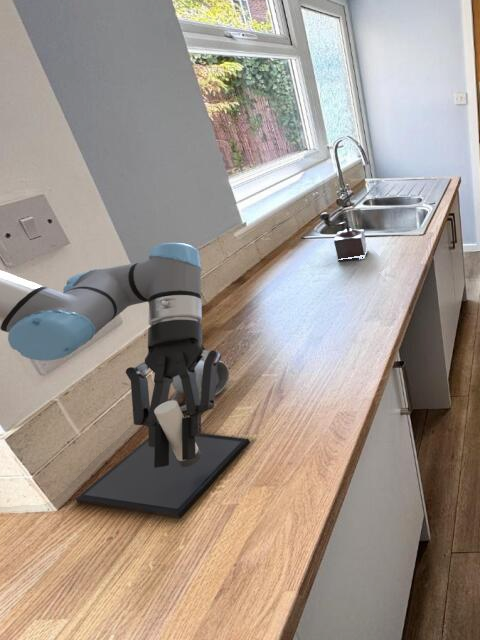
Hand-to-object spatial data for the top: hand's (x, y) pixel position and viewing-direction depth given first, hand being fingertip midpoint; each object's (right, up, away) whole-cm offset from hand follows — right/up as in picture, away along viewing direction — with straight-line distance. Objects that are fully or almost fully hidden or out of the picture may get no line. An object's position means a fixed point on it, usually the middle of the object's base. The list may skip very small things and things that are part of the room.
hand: (175, 462), depth 66 cm
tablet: (-7, -5, +7) cm, 11 cm away
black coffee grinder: (-12, +33, +98) cm, 104 cm away
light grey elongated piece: (-1, -2, +5) cm, 5 cm away
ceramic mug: (-15, +2, +25) cm, 29 cm away
